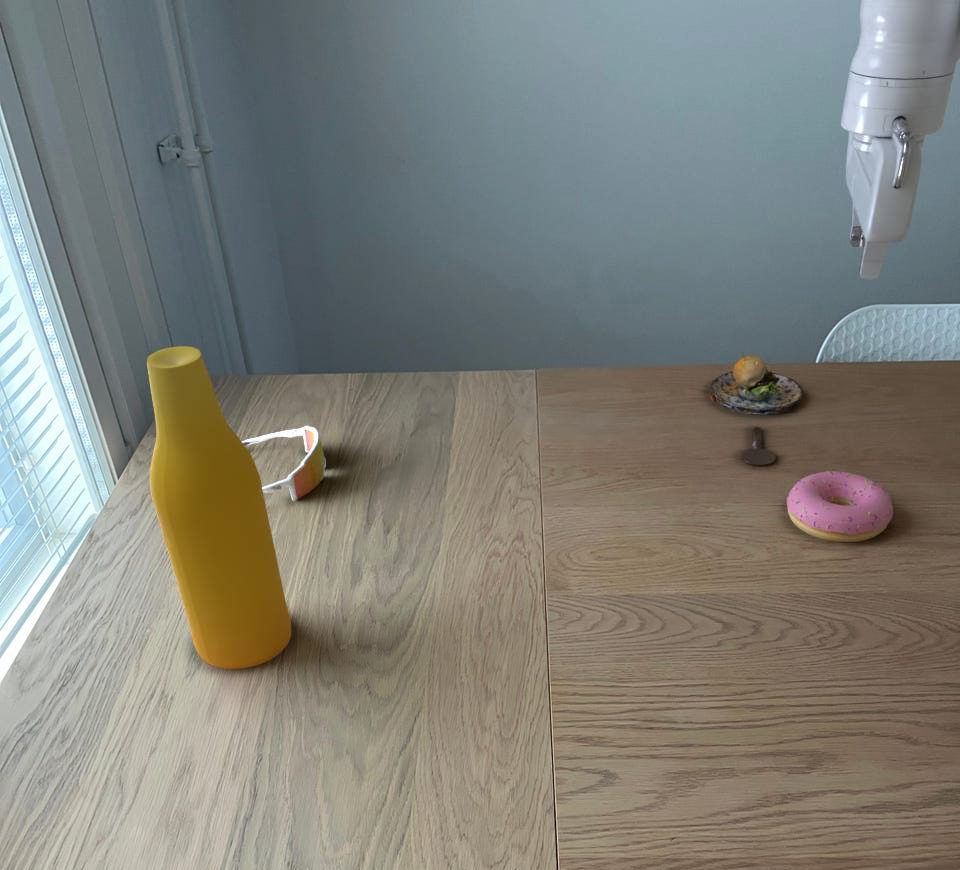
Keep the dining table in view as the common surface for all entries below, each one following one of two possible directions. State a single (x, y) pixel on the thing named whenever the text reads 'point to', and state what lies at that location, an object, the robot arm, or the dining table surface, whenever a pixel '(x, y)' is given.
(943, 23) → the robot arm
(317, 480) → the sunglasses
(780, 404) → the burger
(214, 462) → the beer bottle
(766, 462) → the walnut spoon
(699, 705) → the dining table surface
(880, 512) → the doughnut
